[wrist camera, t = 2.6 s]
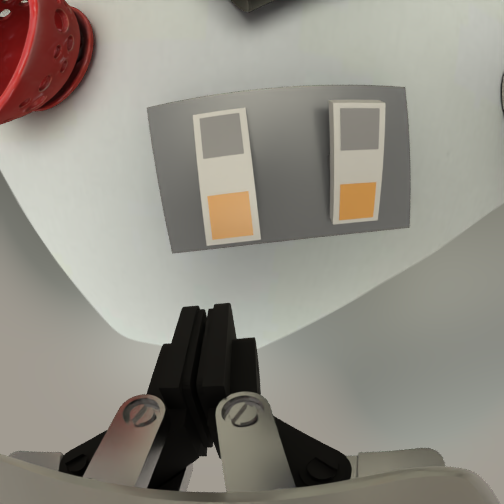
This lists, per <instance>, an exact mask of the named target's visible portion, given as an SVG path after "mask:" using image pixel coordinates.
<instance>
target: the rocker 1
mask: <svg viewBox="0 0 504 504" xmlns="http://www.w3.org/2000/svg"><path fill="white" fill-rule="evenodd" d="M193 124H194V135H195V146H196V156H197V166H198V176H199V185H200V194H201V203H202V212H203V220H204V228H205V236H206V244H207V246H210V245H219V244H227V243H236V242H245V241H254V240H261V235H260V226H259V217H258V209H257V200H256V191H255V183H254V174H253V166H252V157H251V149H250V141H249V132H248V124H247V116H246V108H237V109H230V110H222V111H215V112H209V113H203V114H197V115H193Z"/></svg>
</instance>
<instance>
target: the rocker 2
mask: <svg viewBox="0 0 504 504" xmlns="http://www.w3.org/2000/svg"><path fill="white" fill-rule="evenodd" d="M329 126H330V219H331V221H332V223H333V225H334V224H344V223H354V222H365V221H375V220H378V213H379V204H380V194H381V183H382V171H383V156H384V137H385V103H384V102H382V101H380V100H329Z"/></svg>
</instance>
